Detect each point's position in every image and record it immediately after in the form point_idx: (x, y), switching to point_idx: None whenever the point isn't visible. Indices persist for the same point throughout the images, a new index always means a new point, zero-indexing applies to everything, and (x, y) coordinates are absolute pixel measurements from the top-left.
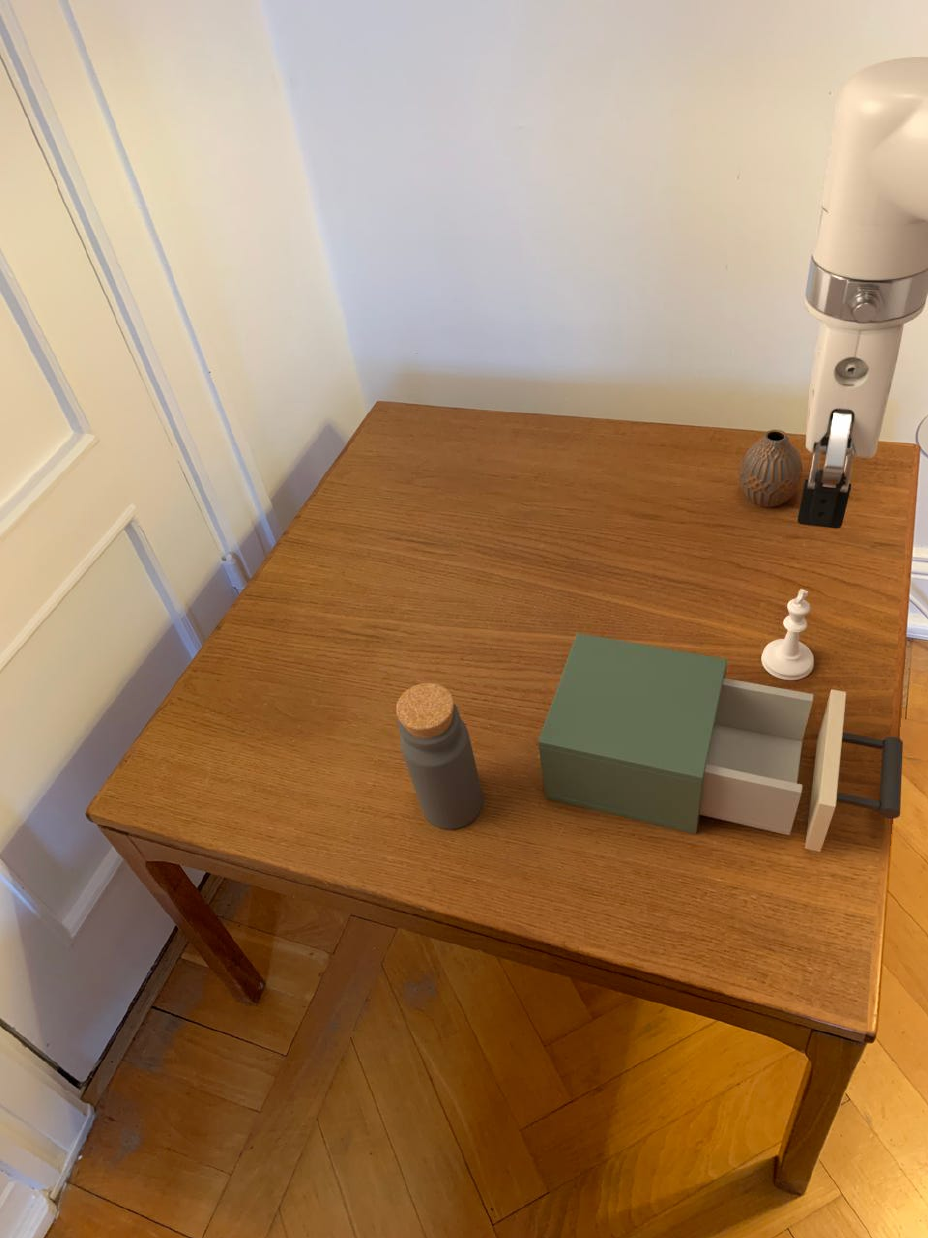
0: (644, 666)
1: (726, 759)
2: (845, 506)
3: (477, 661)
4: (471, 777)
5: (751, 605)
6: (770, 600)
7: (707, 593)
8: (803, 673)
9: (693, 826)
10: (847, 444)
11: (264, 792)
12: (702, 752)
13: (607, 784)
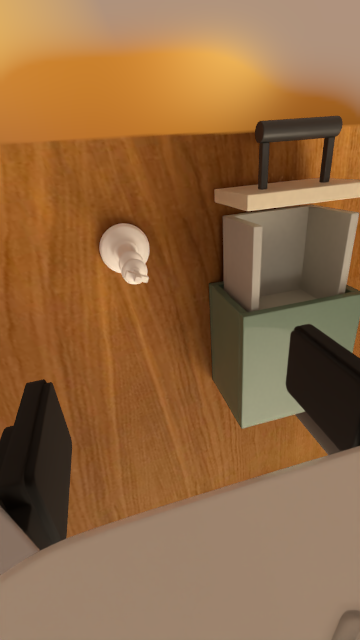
0: (266, 372)
1: (263, 269)
2: (345, 351)
3: (205, 442)
4: None
5: (64, 299)
6: (47, 285)
7: (67, 340)
8: (140, 231)
9: None
10: (49, 400)
11: None
12: (343, 301)
13: None
